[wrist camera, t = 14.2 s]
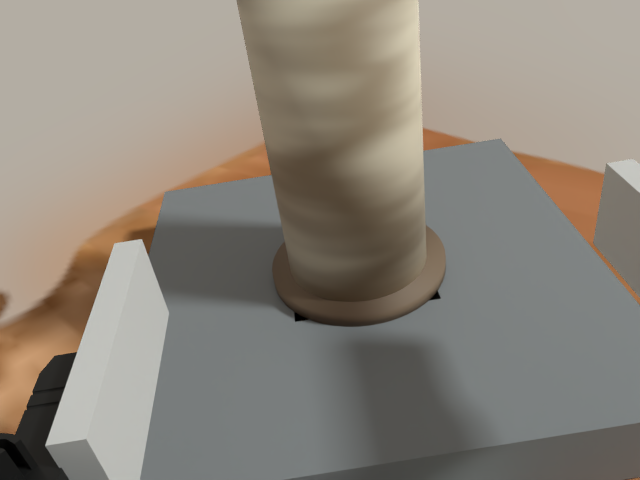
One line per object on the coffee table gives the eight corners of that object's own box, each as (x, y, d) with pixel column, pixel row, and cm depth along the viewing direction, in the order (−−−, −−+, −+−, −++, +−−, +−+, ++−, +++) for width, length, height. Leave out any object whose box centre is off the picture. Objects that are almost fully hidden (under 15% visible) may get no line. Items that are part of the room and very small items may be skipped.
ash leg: (287, 386, 24) (191, -22, 15) (281, 276, 31) (210, -61, 22) (467, 358, 24) (475, -67, 15) (424, 253, 31) (412, -93, 22)
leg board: (113, 561, 20) (81, 512, 18) (178, 233, 36) (165, 192, 34) (702, 466, 20) (726, 408, 18) (498, 183, 36) (500, 138, 34)
